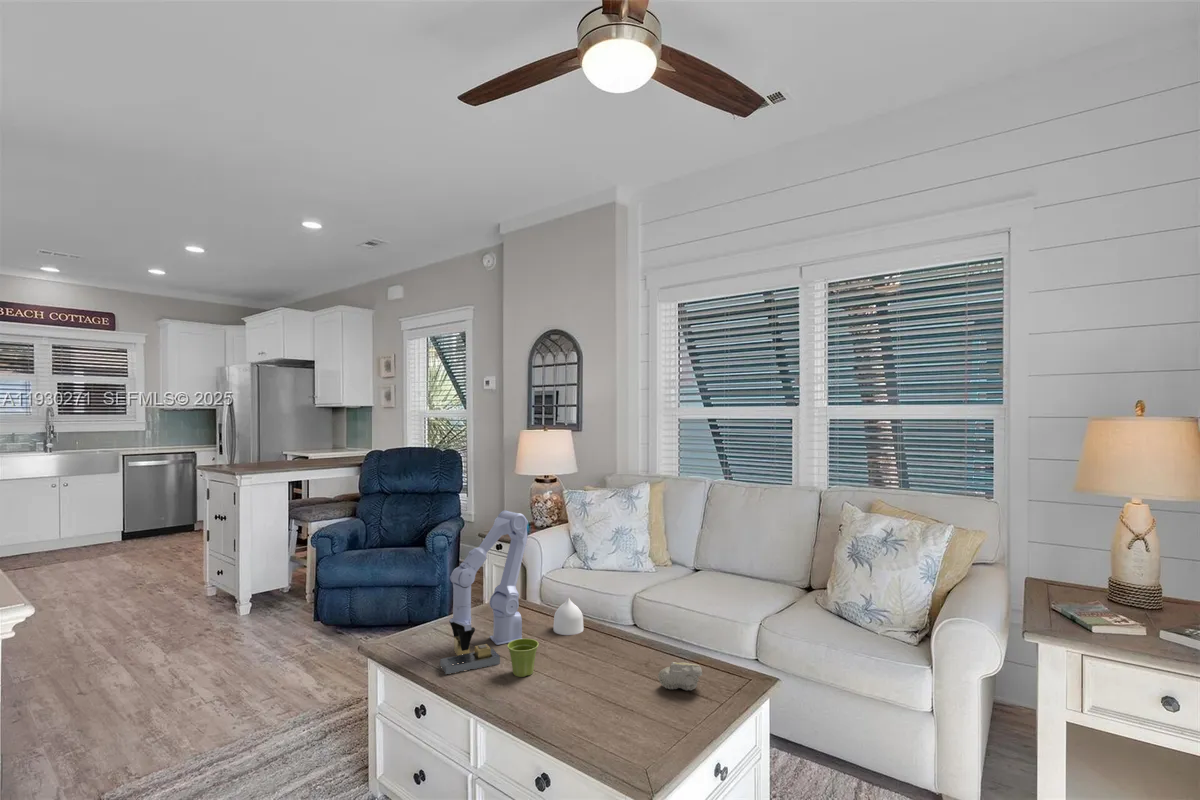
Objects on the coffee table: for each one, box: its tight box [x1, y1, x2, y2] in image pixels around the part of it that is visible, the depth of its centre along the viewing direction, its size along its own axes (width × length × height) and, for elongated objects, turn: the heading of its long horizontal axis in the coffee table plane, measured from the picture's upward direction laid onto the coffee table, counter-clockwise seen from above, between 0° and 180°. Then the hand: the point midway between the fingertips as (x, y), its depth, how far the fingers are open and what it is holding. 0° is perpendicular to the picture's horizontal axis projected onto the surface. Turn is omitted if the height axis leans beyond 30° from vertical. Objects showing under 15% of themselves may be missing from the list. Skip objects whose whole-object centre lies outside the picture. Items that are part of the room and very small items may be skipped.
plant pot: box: [506, 638, 540, 678], centre depth 183 cm, size 9×9×9 cm
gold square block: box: [453, 636, 471, 656], centre depth 198 cm, size 4×4×5 cm
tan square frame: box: [474, 643, 492, 660], centre depth 190 cm, size 4×4×5 cm
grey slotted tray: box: [439, 648, 501, 675], centre depth 188 cm, size 17×7×2 cm, turn 119°
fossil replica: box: [657, 661, 703, 692], centre depth 173 cm, size 12×8×10 cm
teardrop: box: [552, 596, 585, 636], centre depth 219 cm, size 11×11×12 cm
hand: (461, 645), depth 198 cm, fingers open, 7 cm apart
